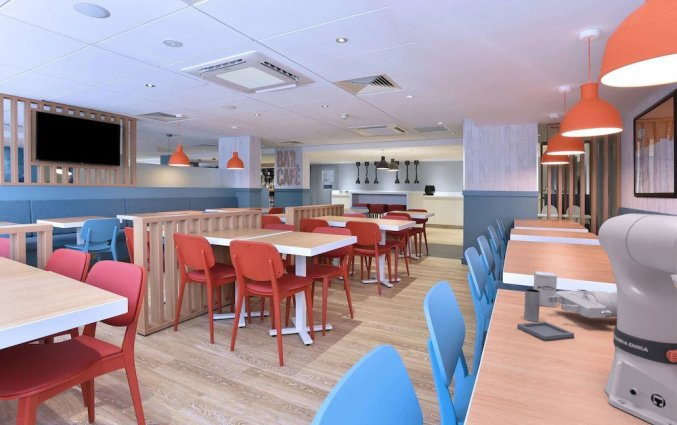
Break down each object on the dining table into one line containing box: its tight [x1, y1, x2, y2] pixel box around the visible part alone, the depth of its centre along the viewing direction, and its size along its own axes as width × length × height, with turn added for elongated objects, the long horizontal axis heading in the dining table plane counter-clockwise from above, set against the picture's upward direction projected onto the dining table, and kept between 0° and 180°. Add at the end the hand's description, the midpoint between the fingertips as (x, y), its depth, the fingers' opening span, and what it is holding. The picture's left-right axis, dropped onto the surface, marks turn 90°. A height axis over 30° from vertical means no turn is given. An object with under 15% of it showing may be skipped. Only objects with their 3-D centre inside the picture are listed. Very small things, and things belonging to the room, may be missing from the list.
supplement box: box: [533, 270, 558, 308], centre depth 148 cm, size 7×7×13 cm
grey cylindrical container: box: [523, 288, 540, 323], centre depth 129 cm, size 4×4×10 cm
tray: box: [516, 321, 575, 342], centre depth 116 cm, size 11×11×2 cm
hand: (554, 303), depth 129 cm, fingers open, 8 cm apart
